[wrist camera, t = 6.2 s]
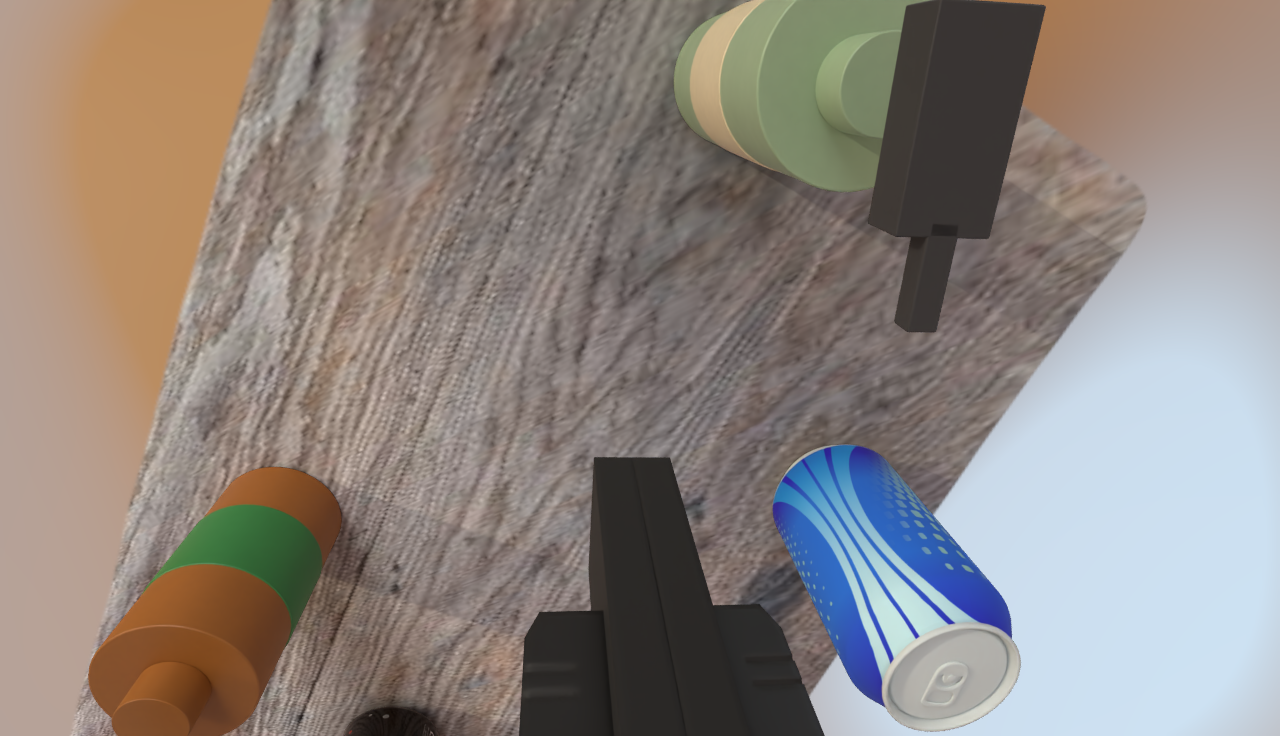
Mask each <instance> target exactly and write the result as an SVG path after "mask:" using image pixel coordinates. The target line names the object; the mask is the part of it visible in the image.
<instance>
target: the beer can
mask: <svg viewBox="0 0 1280 736" xmlns="http://www.w3.org/2000/svg"><path fill="white" fill-rule="evenodd" d="M773 517H774V521H775V524H776V527H777V529H778V531H779V533H780V535H781V537H782V539H783V541H784V543H785V545H786V547H787V550H788V552H789V554H790V556H791V558H792V560H793V562H794V564H795V566H796V568H797V570H798V572H799V574H800V576H801V578H802V581H803V583H804V585H805V587H806V589H807V591H808V593H809V595H810V597H811V599H812V601H813V603H814V605H815V607H816V609H817V612H818V614H819V616H820V618H821V620H822V622H823V624H824V626H825V628H826V630H827V632H828V634H829V636H830V638H831V640H832V643H833V645H834V647H835V649H836V651H837V653H838V655H839V657H840V659H841V661H842V663H843V665H844V667H845V669H846V671H847V673H848V675H849V677H850V679H851V680H852V682H853V683H854V685H855V686H856V687H857V688H858V689H859V690H860V691H861V692H862V693H863V694H864V695H866V696H867V697H868V698H870V699H872V700H873V701H875V702H877V703H879V704H880V705H882V706H884V707H886V709H887V710H888V712H889V713H890V715H891V716H892V717H893V718H894V719H895V720H896V721H898V722H899V723H900V724H902V725H904V726H906V727H908V728H911V729H915V730H920V731H930V732H933V731H945V730H950V729H955V728H958V727H962V726H965V725H967V724H970V723H972V722H974V721H976V720H978V719H980V718H982V717H983V716H985V715H986V714H988V713H989V712H991V711H992V710H993V709H995V708H996V707H997V706H998V705H999V704H1000V703H1001V702H1002V701H1003V700H1004V699H1005V698H1006V697H1007V696H1008V694H1009V693H1010V692H1011V690H1012V688H1013V687H1014V685H1015V683H1016V681H1017V679H1018V676H1019V672H1020V666H1021V660H1020V654H1019V651H1018V648H1017V646H1016V644H1015V643H1014V641H1013V640H1012V631H1011V618H1010V614H1009V611H1008V607H1007V605H1006V603H1005V601H1004V599H1003V598H1002V596H1001V595H1000V593H999V592H998V591H997V590H996V589H995V587H994V586H993V585H992V584H991V583H990V581H989V580H988V579H987V578H986V577H985V576H984V574H983V573H982V572H981V571H980V570H979V568H978V567H977V566H976V565H975V564H974V563H973V562H972V560H971V559H970V558H969V557H968V556H967V554H966V553H965V552H964V551H963V550H962V549H961V547H960V546H959V545H958V544H957V543H956V541H955V540H954V539H953V538H952V537H951V536H950V534H949V533H948V532H947V531H946V530H945V529H944V528H943V526H942V525H941V524H940V523H939V522H938V520H937V519H936V518H935V517H934V516H933V514H932V513H931V512H930V511H929V510H928V509H927V507H926V506H925V505H924V504H923V503H922V502H921V500H920V499H919V498H918V497H917V496H916V495H915V493H914V492H913V491H912V490H911V489H910V487H909V486H908V485H907V484H906V483H905V482H904V480H903V479H902V478H901V477H900V476H899V475H898V473H897V472H896V471H895V470H894V469H893V468H892V466H891V465H890V464H889V463H888V462H887V461H886V460H885V459H884V458H883V457H882V456H881V455H880V454H878V453H876V452H875V451H873V450H871V449H869V448H866V447H863V446H858V445H849V444H843V445H830V446H824V447H820V448H817V449H814V450H812V451H810V452H808V453H806V454H805V455H803V456H801V457H800V458H799V459H798V460H796V461H795V462H794V463H793V464H792V465H791V466H790V468H789V469H788V470H787V471H786V473H785V475H784V476H783V478H782V480H781V481H780V483H779V485H778V487H777V490H776V492H775V496H774V500H773Z"/></svg>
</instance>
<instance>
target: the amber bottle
mask: <svg viewBox="0 0 1280 736" xmlns="http://www.w3.org/2000/svg"><path fill="white" fill-rule="evenodd" d="M341 521H342V520H341V512H340V508H339V505H338V503H337V501H336V499H335V497H334V496H333V494H332V493H331V492H330V490H329V489H328V488H327V487H326V486H325V485H323V484H322V483H321V482H320V481H318V480H317V479H315V478H314V477H312V476H310V475H308V474H306V473H303V472H300V471H298V470H294V469H290V468H283V467H265V468H260V469H256V470H253V471H249V472H247V473H245V474H243V475H241V476H240V477H238V478H237V479H236V480H234V481H233V482H232V483H231V484H230V485H229V487H228V488H227V489H226V490H225V491H224V493H223V494H222V495H221V496H220V498H219V499H218V500H217V501H216V503H215V504H214V505H213V506H212V508H211V509H210V510H209V511H208V513H207V514H206V515H205V516H204V518H203V519H202V520H201V521H199V522H198V524H197V525H196V526H195V527H194V528H193V530H192V531H191V532H190V533H189V535H188V536H187V537H186V538H185V540H184V541H183V542H182V543H181V545H180V546H179V547H178V548H177V550H176V551H175V552H174V553H173V555H172V556H171V557H170V558H169V560H168V561H167V562H166V563H165V564H164V566H163V567H162V568H161V569H160V571H159V572H158V573H157V574H156V576H155V577H154V578H153V579H152V581H151V582H150V583H149V584H148V586H147V587H146V588H145V590H144V592H143V593H142V595H141V597H140V598H139V599H138V600H137V602H136V603H135V604H134V605H133V607H132V608H131V609H130V610H129V612H128V613H127V614H126V615H125V617H124V618H123V619H122V620H121V622H120V623H119V624H118V625H117V627H116V628H115V629H114V630H113V632H112V633H111V634H110V635H109V637H108V638H107V639H106V640H105V642H104V643H103V644H102V645H101V647H100V648H99V649H98V650H97V652H96V653H95V655H94V657H93V658H92V661H91V664H90V667H89V674H88V679H89V686H90V690H91V692H92V694H93V697H94V699H95V700H96V702H97V703H98V705H99V706H100V707H101V708H102V709H103V710H104V712H105V713H107V714H108V715H109V716H110V717H111V718H112V727H113V729H114V731H115V733H116V734H117V735H118V736H221V735H224V734H226V733H228V732H230V731H232V730H234V729H236V728H237V727H239V726H240V725H241V724H243V723H244V722H245V721H246V720H247V719H248V718H249V717H250V716H251V715H252V713H253V712H254V710H255V709H256V706H257V704H258V702H259V700H260V698H261V696H262V694H263V692H264V690H265V688H266V685H267V683H268V681H269V679H270V677H271V675H272V673H273V671H274V669H275V667H276V664H277V662H278V660H279V658H280V656H281V654H282V652H283V650H284V648H285V647H286V646H287V644H288V642H289V640H290V638H291V636H292V634H293V632H294V629H295V627H296V625H297V623H298V621H299V619H300V617H301V615H302V613H303V610H304V608H305V606H306V604H307V602H308V600H309V598H310V596H311V594H312V591H313V589H314V587H315V585H316V583H317V581H318V579H319V577H320V574H321V570H322V568H323V566H324V564H325V562H326V560H327V557H328V555H329V553H330V551H331V549H332V547H333V545H334V543H335V541H336V539H337V536H338V534H339V532H340V528H341Z"/></svg>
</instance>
